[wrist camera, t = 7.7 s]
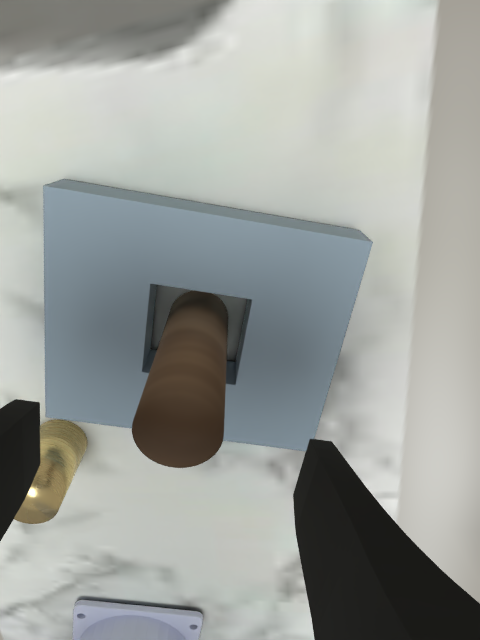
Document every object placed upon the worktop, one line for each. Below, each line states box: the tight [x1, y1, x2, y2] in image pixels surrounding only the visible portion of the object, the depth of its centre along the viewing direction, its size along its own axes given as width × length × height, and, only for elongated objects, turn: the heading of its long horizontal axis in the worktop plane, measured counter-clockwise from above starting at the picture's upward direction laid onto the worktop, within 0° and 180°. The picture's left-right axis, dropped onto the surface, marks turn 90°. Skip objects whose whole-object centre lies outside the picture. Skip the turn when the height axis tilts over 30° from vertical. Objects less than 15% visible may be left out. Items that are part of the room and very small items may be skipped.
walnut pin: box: [132, 290, 228, 468], centre depth 16 cm, size 3×3×8 cm
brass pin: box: [14, 420, 87, 524], centre depth 21 cm, size 3×3×4 cm
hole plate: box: [43, 179, 373, 451], centre depth 19 cm, size 10×12×2 cm
